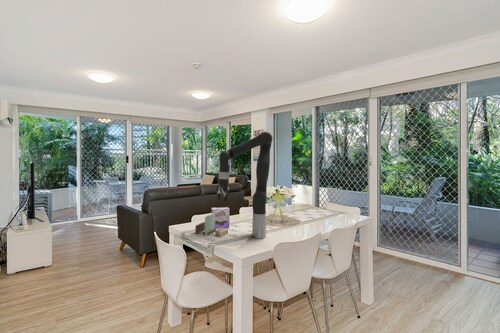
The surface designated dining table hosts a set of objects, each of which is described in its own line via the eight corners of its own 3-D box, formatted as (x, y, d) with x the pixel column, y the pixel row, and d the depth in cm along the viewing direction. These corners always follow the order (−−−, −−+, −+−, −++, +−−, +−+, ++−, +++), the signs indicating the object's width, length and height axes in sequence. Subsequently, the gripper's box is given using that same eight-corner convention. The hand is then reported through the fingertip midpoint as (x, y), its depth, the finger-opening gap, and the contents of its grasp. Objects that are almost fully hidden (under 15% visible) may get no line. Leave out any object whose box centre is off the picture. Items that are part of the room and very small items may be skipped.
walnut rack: (216, 232, 209) (216, 223, 208) (207, 237, 197) (208, 227, 197) (203, 231, 212) (204, 221, 212) (195, 235, 201) (195, 225, 200)
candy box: (211, 230, 215) (211, 208, 215) (210, 228, 221) (211, 207, 220) (229, 229, 218) (229, 208, 217) (228, 227, 224) (228, 207, 223)
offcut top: (227, 231, 204) (227, 228, 204) (221, 234, 194) (221, 231, 194) (221, 230, 206) (221, 227, 206) (215, 233, 196) (215, 231, 196)
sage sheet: (214, 232, 208) (214, 214, 208) (207, 236, 198) (207, 217, 197) (211, 232, 209) (212, 213, 208) (204, 236, 199) (205, 216, 198)
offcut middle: (227, 233, 204) (228, 231, 204) (221, 237, 195) (221, 234, 195) (221, 232, 206) (221, 230, 206) (215, 236, 196) (215, 233, 196)
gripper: (233, 179, 200) (231, 202, 201) (222, 177, 211) (221, 198, 212) (224, 179, 195) (223, 202, 196) (214, 177, 206) (212, 199, 207)
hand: (222, 200), depth 204 cm, fingers open, 8 cm apart
